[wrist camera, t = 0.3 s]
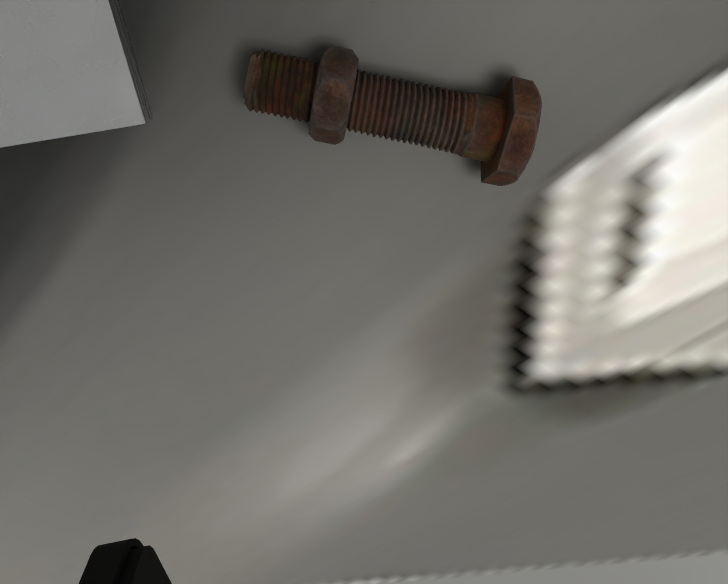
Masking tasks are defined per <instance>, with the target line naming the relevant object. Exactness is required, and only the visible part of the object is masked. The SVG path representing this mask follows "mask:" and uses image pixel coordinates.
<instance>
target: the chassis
mask: <svg viewBox="0 0 728 584" xmlns="http://www.w3.org/2000/svg"><path fill="white" fill-rule="evenodd" d="M150 119H152V115H151V112H150V108H149V105H148V102H147V98H146V95H145V92H144V88H143V85H142V81H141V78H140V75H139V71H138V68H137V64H136V61H135V58H134V54H133V51H132V47H131V44H130V41H129V37H128V34H127V30H126V27H125V24H124V20H123V17H122V13H121V10H120V7H119V3H118V0H0V147H6V146H12V145H18V144H25V143H31V142H37V141H43V140H49V139H55V138H61V137H67V136H73V135H79V134H85V133H92V132H98V131H104V130H110V129H116V128H122V127H128V126H134V125H140V124H146V123H147V122H148V121H149V120H150Z"/></svg>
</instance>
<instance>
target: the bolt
mask: <svg viewBox="0 0 728 584" xmlns="http://www.w3.org/2000/svg"><path fill="white" fill-rule="evenodd" d="M358 60H359V59H358V58H357V56H356V55H355V53H354V51H353V50H350V49H345V48H341V47H336V46H330V47H329V48H328V49H326V50H325V51H323V53H322V57H321V61H320V62H319V63H318V64H317V65H316V63H315V61H314V60H313V61H312V62H311V63H310V62H309V60H308V59H306V60H305V62H304V61H303V59H302V58H300V59H299V60H297V58H296V57H295V56H294V57H293V58H292V59H291V57H290V56H289V54H288V55H287V56H286V57H284V55H283V54H282V53H281V54H280V55H279V56H278V55H277V53H276V52H274V53H273V54H271V52H270V50H269V51H267V52H266V53H265V52H264V50H263V49H262V50H261V51H260V52H257V51H255V52H254V53H253V54H252V55H251V56H250V59H249V65H248V70H247V76H246V82H245V87H244V99H245V105H246V106H247V107H248V109H249V111H252V110H253V109H254V110H255V112H256V113H257V112H258V111H259V110H260V111H261V113H262V114H263V113H264V112H266V111H267V113H268V115H269V114H271V113H272V112H273V114H274V116H276V115H277V114H279V115H280V117H281V118H282V117H283V116H284V115H286V118H287V119H288V118H289V117H291V116H292V118H293V120H295V119H296V118H297V117H298V119H299V121H301V120H303V119H304V120H305V122H306V123H307V122H308V121H309V120H310V124H309V135H310V136H311V137H312V138H313V139H314V140H315V141H319V142H324V143H329V144H334V145H335V144H338V143H340V142H341V141H343V139H344V135H345V131H346V128H348V130H349V132H350V131H351V130H352V129H354V131H355V133H356V132H358V131H359V130H360V132H361V134H363V133H364V132H365V131H366V133H367V135H369V134H370V133H372V135H373V137H375V136H376V135H377V134H378V135H379V137H380V138H381V137H382V136H383V135H384V136H385V139H388V138H389V136H390V138H391V140H392V141H393V140H394V139H395V138H396V139H397V141H398V142H399V141H400V140H401V139H402V140H403V143H406V141H407V140H408V141H409V143H410V144H411V143H412V142H413V141H414V143H415V145H418V144H419V142H420V144H421V146H424V145H425V144H426V145H427V147H428V148H430V147H431V146H432V147H433V149H435V150H436V148H437V147H438V148H439V150H443V149H445V152H448V151H449V150H450V151H451V153H454V154H458V155H459V156H461V157H465V158H470V159H475V160H479V161H481V182H482V183H487V184H492V185H497V186H503V185H508V184H511V183H514V182H516V181H517V180H518V178H519V177H520V175H521V174H522V172H523V171H524V169H525V167H526V165H527V163H528V161H529V159H530V157H531V155H532V152H533V150H534V146H535V142H536V137H537V133H538V128H539V123H540V115H541V107H542V101H541V96H540V93H539V91H538V89H537V87H536V86H535V84H534V82H533V81H530V80H526V79H522V78H517V77H512V78H511V79H510V80H509V81H508V82H507V83H506V85H505V86H504V87H503V88H502V89H501V90H500V92H499V93H498V94H497V95H496V97H491V96H486V95H482V94H477V93H474V94H466V93H463V92H462V93H459V91H455V92H453V90H449V91H447V89H446V88H444V89H442V90H441V88H440V87H437V88H436V89H435V88H434V86H431V87H430V88H428V85H427V84H425V85H424V86H423V87H422V85H421V83H419V84H418V85H417V86H416V83H415V82H413V83H412V84H410V81H408V80H407V81H406V82H405V83H404V81H403V79H401V80H400V81H399V82H398V81H397V78H394V79H393V80H391V77H390V76H389V77H387V78H386V79H385V77H384V75H382V76H381V77H380V78H379V76H378V74H376V75H375V76H372V74H371V72H370V73H369V74H368V75H366V73H365V71H364V72H363V73H361V74H360V72H359V70H357V67H358Z"/></svg>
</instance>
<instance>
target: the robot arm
mask: <svg viewBox="0 0 728 584" xmlns="http://www.w3.org/2000/svg"><path fill="white" fill-rule="evenodd" d="M79 584H172V583H171V581H170V579H169V577H168V576H167V574H166V572H165V570H164V568H163V566H162V564H161V562H160V560H159V558H158V556H157V554H156V552H155V551H154V549H153V548H152V547H151V546H143V545H142V543H141V542H140V541H139V540H138V539H136V538H134V539H128V540H123V541H118V542H113V543H108V544H103V545H98V546H97V547H96V548H95V549H94V550H93V552H92V554H91V555H90V558H89V560H88V563H87V565H86V568H85V570H84V572H83V575H82V577H81V580H80V582H79Z"/></svg>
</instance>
